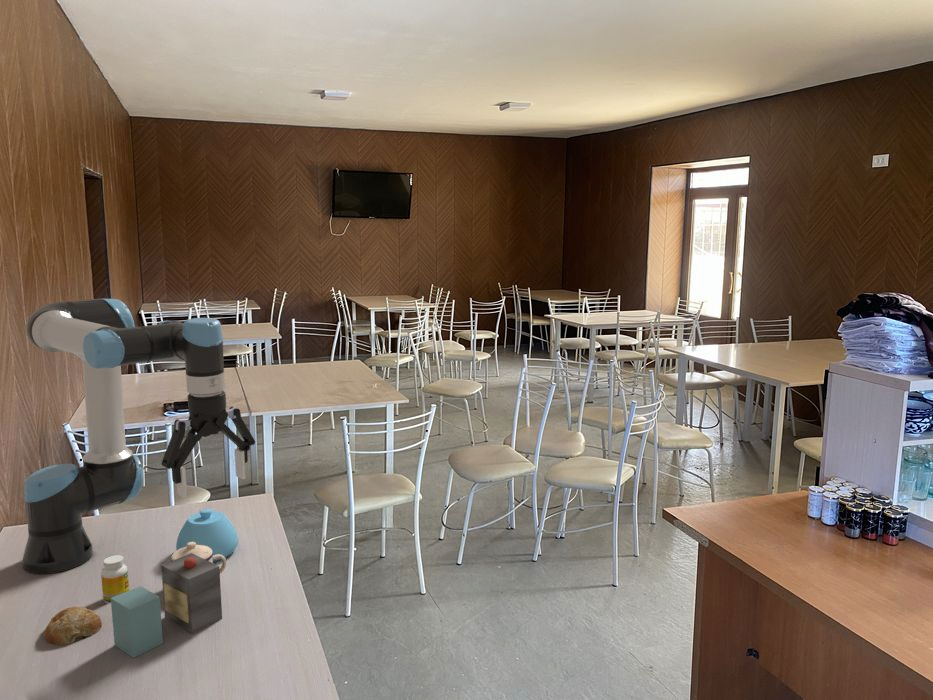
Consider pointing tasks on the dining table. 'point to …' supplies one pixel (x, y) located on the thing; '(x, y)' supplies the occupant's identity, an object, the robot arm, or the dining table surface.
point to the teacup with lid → (199, 553)
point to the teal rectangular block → (136, 621)
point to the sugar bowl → (209, 532)
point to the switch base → (192, 592)
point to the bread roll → (72, 626)
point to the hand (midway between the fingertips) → (212, 486)
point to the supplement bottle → (114, 578)
